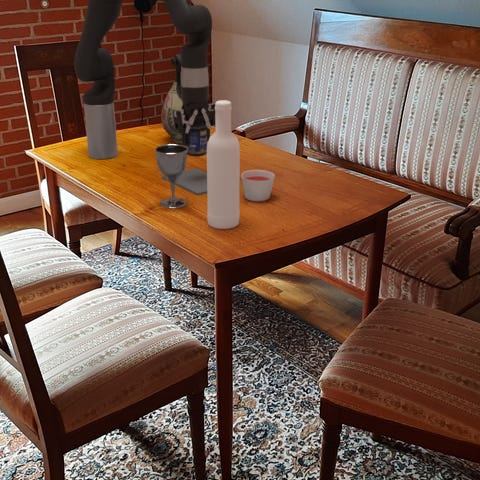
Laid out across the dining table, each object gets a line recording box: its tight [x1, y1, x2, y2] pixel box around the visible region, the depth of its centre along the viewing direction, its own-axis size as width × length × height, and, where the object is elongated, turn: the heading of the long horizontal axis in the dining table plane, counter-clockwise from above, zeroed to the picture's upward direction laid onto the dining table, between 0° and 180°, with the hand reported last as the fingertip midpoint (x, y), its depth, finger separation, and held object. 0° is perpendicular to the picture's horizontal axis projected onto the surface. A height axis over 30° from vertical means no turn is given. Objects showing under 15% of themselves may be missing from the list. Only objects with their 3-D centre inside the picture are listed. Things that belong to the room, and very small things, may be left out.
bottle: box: [206, 99, 241, 230], centre depth 147 cm, size 8×8×30 cm
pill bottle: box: [185, 116, 208, 157], centre depth 176 cm, size 6×6×11 cm
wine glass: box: [155, 143, 188, 209], centre depth 162 cm, size 8×8×15 cm
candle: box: [240, 169, 276, 202], centre depth 168 cm, size 9×9×6 cm
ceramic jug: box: [160, 53, 188, 145], centre depth 211 cm, size 17×15×30 cm
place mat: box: [161, 167, 207, 196], centre depth 180 cm, size 18×12×1 cm, turn 39°
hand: (196, 143), depth 177 cm, fingers closed on pill bottle, 6 cm apart
